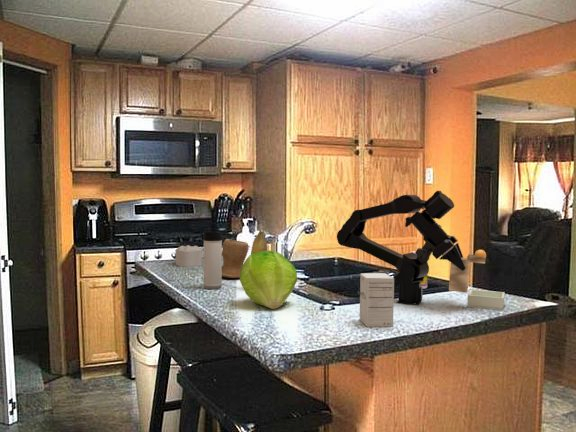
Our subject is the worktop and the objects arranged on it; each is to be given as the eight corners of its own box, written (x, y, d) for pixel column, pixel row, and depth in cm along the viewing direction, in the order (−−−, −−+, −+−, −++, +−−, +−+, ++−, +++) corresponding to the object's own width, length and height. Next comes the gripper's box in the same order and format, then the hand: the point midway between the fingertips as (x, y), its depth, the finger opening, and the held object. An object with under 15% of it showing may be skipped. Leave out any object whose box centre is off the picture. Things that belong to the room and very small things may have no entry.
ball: (472, 258, 153) (479, 250, 152) (472, 253, 156) (479, 245, 154) (481, 264, 153) (488, 256, 151) (481, 259, 156) (488, 251, 154)
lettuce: (233, 315, 150) (256, 276, 143) (230, 270, 167) (251, 232, 160) (286, 329, 157) (311, 293, 149) (278, 284, 173) (300, 249, 166)
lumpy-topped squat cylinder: (183, 267, 231) (183, 248, 231) (170, 264, 242) (170, 245, 241) (204, 265, 238) (204, 246, 237) (191, 262, 248) (191, 244, 248)
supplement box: (358, 319, 141) (359, 273, 140) (386, 319, 141) (386, 272, 141) (365, 327, 133) (366, 277, 133) (393, 326, 134) (394, 277, 133)
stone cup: (254, 277, 206) (254, 239, 206) (230, 281, 198) (230, 241, 197) (230, 273, 217) (230, 236, 216) (206, 276, 209) (206, 238, 208)
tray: (467, 306, 158) (467, 295, 158) (470, 300, 167) (470, 289, 167) (503, 310, 154) (503, 298, 154) (504, 303, 163) (504, 292, 163)
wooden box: (448, 290, 155) (451, 254, 155) (450, 287, 160) (452, 252, 159) (482, 294, 152) (485, 257, 151) (483, 291, 157) (485, 255, 156)
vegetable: (257, 291, 179) (257, 232, 178) (246, 288, 184) (246, 231, 183) (270, 288, 183) (271, 231, 182) (259, 286, 188) (259, 230, 187)
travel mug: (199, 288, 182) (199, 231, 181) (209, 285, 188) (209, 229, 187) (215, 290, 180) (215, 231, 179) (224, 287, 186) (225, 230, 185)
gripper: (413, 242, 170) (446, 280, 167) (403, 248, 153) (440, 290, 150) (440, 220, 167) (474, 258, 164) (433, 223, 150) (471, 266, 146)
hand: (464, 268), depth 156 cm, fingers closed on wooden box, 5 cm apart
